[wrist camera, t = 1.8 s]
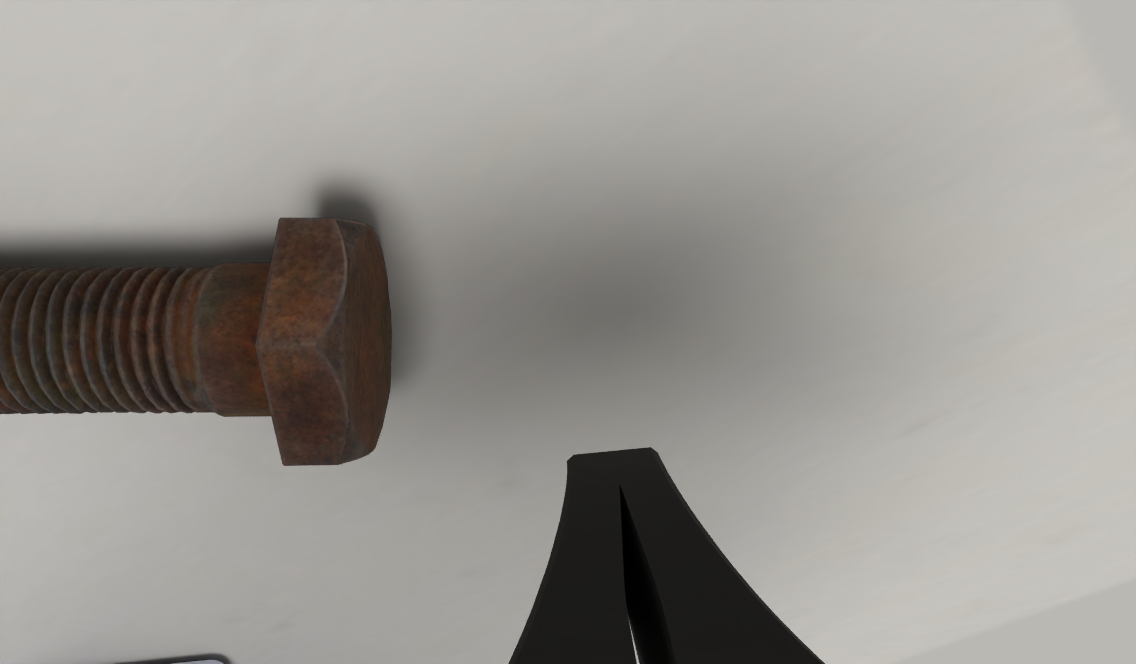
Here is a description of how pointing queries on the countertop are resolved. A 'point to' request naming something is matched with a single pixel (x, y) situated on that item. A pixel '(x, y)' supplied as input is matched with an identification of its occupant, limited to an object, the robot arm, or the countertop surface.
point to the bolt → (214, 340)
